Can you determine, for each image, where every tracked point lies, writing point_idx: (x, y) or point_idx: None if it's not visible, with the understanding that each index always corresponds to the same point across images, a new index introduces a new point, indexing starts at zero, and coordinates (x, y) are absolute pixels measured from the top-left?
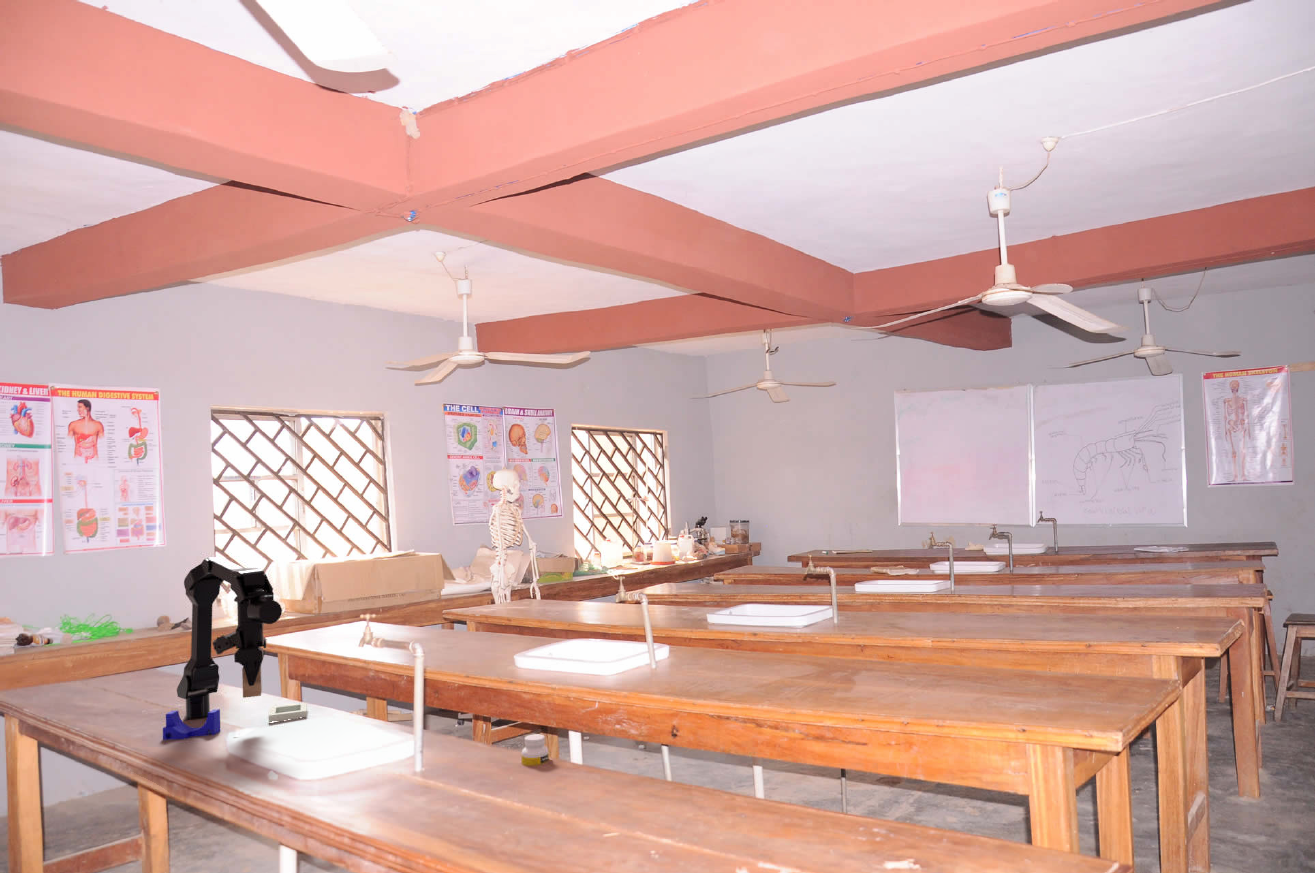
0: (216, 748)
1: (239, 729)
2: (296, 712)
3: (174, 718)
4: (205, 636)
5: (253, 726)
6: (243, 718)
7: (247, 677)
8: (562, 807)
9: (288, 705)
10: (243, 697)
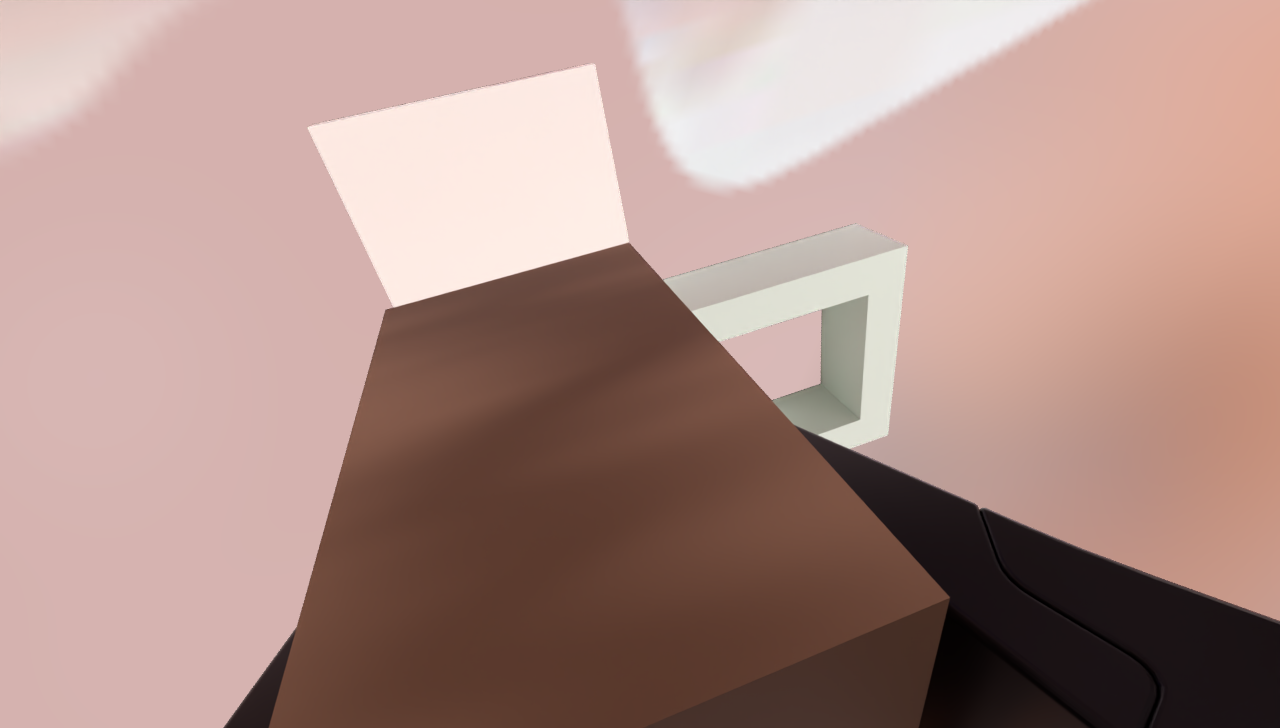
0: (41, 16)
1: (568, 102)
2: None
3: None
4: None
5: (705, 163)
6: (951, 9)
7: (266, 689)
8: None
9: (877, 355)
10: (386, 317)
